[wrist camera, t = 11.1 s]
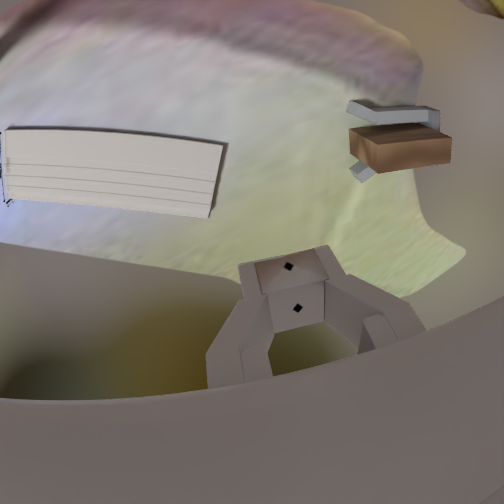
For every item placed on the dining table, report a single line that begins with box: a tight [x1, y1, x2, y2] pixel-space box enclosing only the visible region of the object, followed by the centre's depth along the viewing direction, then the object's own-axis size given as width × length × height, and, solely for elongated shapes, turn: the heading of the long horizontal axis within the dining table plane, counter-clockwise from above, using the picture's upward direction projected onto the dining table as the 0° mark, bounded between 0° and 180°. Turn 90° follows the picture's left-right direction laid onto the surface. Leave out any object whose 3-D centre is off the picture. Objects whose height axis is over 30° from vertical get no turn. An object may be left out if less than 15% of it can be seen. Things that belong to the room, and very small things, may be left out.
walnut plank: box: [349, 123, 452, 174], centre depth 36 cm, size 4×12×8 cm, turn 100°
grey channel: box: [346, 101, 440, 183], centre depth 38 cm, size 11×14×4 cm
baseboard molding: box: [0, 129, 223, 219], centre depth 36 cm, size 31×3×12 cm
